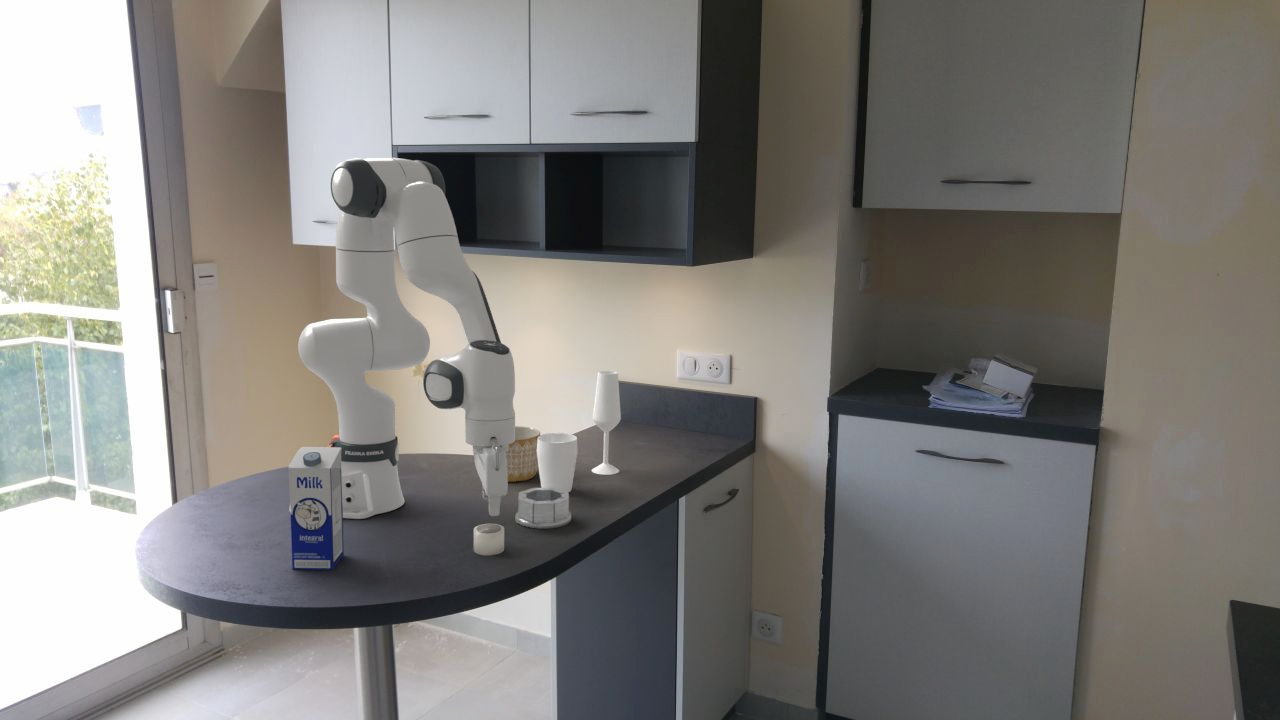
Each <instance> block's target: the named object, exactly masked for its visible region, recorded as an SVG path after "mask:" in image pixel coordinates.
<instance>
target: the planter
mask: <svg viewBox="0 0 1280 720" xmlns="http://www.w3.org/2000/svg"><path fill="white" fill-rule="evenodd" d="M540 435H541V431H540V430H538V429H536V428H533V427H528V426H521V425H520V426H519V425H515V442H513V443H511V444H508V451H506V452H505V453H506V458H507V476H508V483H514V482H515V483H517V482H518V481H519V482H525V481H528V480H530V479H533V478H534V477H535V476H536V474H537V470H538V469H537V468H538V458H537V440H538V436H540ZM516 481H517V482H516Z"/></svg>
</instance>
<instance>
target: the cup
mask: <svg viewBox="0 0 1280 720" xmlns="http://www.w3.org/2000/svg"><path fill="white" fill-rule="evenodd" d="M537 458H538V461H537V467H538V473H539V479H540V488H556V489H560V490H563V491H566V492H568V493H570V492H571V491H572V488H573V481H574V476H575V469H576V463H577V458H578V437H577V436H576V435H574V434H572V433H571V434H570V433H564V432H562V433H561V432H550V433H544V434H540V436H538V440H537Z"/></svg>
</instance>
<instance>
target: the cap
mask: <svg viewBox="0 0 1280 720" xmlns="http://www.w3.org/2000/svg"><path fill="white" fill-rule="evenodd" d="M504 550H505V527H504V525H503V526H502V525H500V524H497V523H484V524H479V525H477V526H475V527H474V528H473V552H474V553H475V554H477V555H480V556H495V555H496V556H497V555H499V554H502V553H503V552H504Z"/></svg>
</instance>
